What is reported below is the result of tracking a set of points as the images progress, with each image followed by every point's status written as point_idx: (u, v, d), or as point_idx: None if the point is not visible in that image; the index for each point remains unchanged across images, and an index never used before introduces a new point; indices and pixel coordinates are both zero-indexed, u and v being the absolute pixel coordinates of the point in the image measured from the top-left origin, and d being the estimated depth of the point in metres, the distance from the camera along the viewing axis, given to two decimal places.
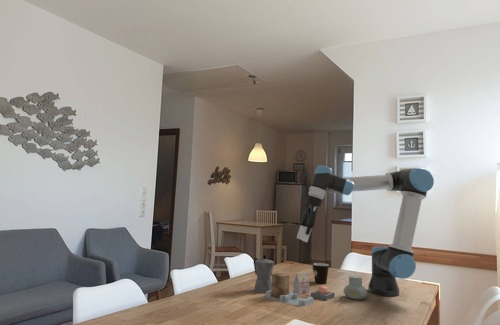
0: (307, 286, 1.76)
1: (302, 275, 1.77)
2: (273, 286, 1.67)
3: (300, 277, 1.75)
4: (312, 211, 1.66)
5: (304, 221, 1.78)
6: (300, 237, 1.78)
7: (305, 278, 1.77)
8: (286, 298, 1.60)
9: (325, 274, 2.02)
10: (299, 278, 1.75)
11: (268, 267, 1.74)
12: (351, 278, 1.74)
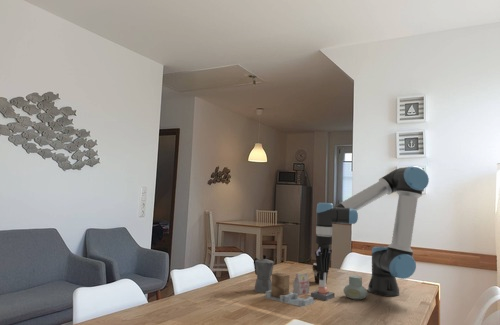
0: (307, 286, 1.76)
1: (302, 275, 1.77)
2: (273, 286, 1.67)
3: (300, 277, 1.75)
4: (316, 257, 1.68)
5: None
6: None
7: (305, 278, 1.77)
8: (286, 298, 1.60)
9: None
10: (299, 278, 1.75)
11: (268, 267, 1.74)
12: (351, 278, 1.74)
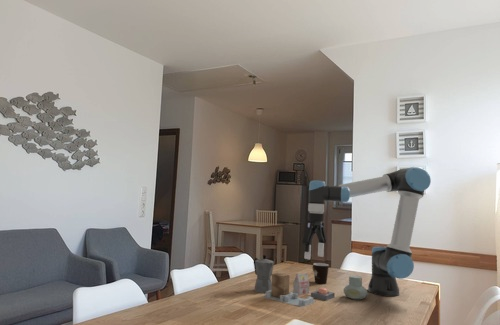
0: (307, 286, 1.76)
1: (302, 275, 1.77)
2: (273, 286, 1.67)
3: (300, 277, 1.75)
4: (307, 228, 1.70)
5: (319, 238, 1.79)
6: (320, 254, 1.79)
7: (305, 278, 1.77)
8: (286, 298, 1.60)
9: (325, 274, 2.02)
10: (299, 278, 1.75)
11: (268, 267, 1.74)
12: (351, 278, 1.74)
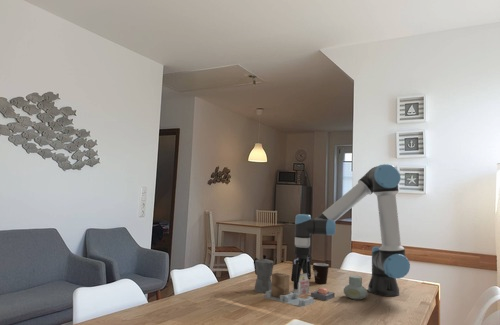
0: (307, 286, 1.76)
1: (302, 275, 1.77)
2: (273, 286, 1.67)
3: (300, 277, 1.75)
4: (293, 265, 1.73)
5: None
6: None
7: (305, 278, 1.77)
8: (286, 298, 1.60)
9: (325, 274, 2.02)
10: (299, 278, 1.75)
11: (268, 267, 1.74)
12: (351, 278, 1.74)
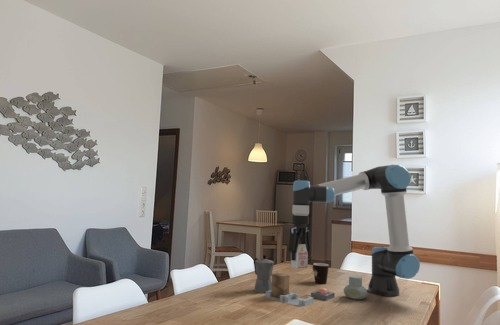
0: (306, 257, 1.63)
1: (300, 246, 1.63)
2: (273, 286, 1.67)
3: (298, 247, 1.62)
4: (291, 234, 1.59)
5: None
6: None
7: (303, 249, 1.63)
8: (286, 298, 1.60)
9: (325, 274, 2.02)
10: None
11: (268, 267, 1.74)
12: (351, 278, 1.74)
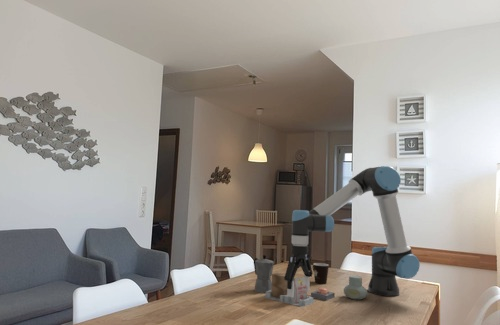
0: (305, 291, 1.61)
1: (300, 279, 1.62)
2: (273, 286, 1.67)
3: (297, 282, 1.60)
4: (289, 263, 1.57)
5: (304, 271, 1.67)
6: None
7: (303, 283, 1.62)
8: (286, 298, 1.60)
9: (325, 274, 2.02)
10: (296, 283, 1.60)
11: (268, 267, 1.74)
12: (351, 278, 1.74)
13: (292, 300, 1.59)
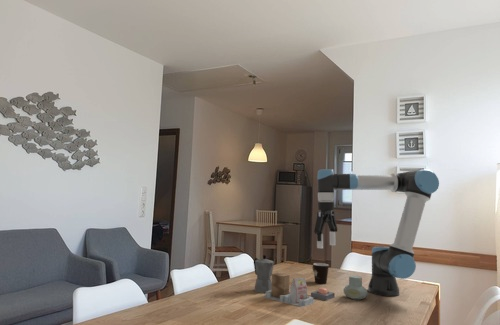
0: (305, 291, 1.61)
1: (300, 279, 1.62)
2: (273, 286, 1.67)
3: (297, 282, 1.60)
4: (318, 217, 1.69)
5: (330, 227, 1.78)
6: (332, 243, 1.78)
7: (303, 283, 1.62)
8: (286, 298, 1.60)
9: (325, 274, 2.02)
10: (296, 283, 1.60)
11: (268, 267, 1.74)
12: (351, 278, 1.74)
13: (292, 300, 1.59)
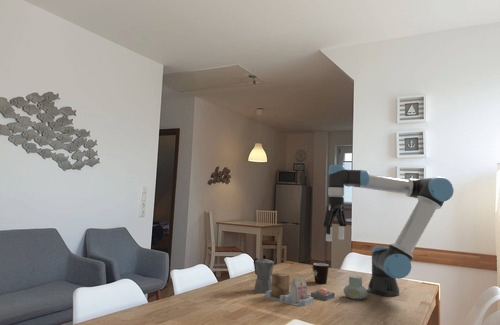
0: (305, 291, 1.61)
1: (300, 279, 1.62)
2: (273, 286, 1.67)
3: (297, 282, 1.60)
4: (327, 211, 1.74)
5: (339, 221, 1.83)
6: (341, 237, 1.82)
7: (303, 283, 1.62)
8: (286, 298, 1.60)
9: (325, 274, 2.02)
10: (296, 283, 1.60)
11: (268, 267, 1.74)
12: (351, 278, 1.74)
13: (292, 300, 1.59)
